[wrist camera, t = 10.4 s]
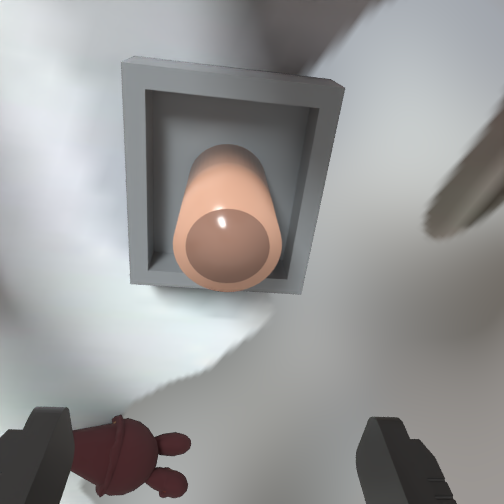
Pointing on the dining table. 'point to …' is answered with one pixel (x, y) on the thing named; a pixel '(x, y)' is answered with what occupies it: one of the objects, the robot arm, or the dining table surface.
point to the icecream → (128, 458)
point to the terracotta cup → (227, 221)
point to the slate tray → (216, 133)
